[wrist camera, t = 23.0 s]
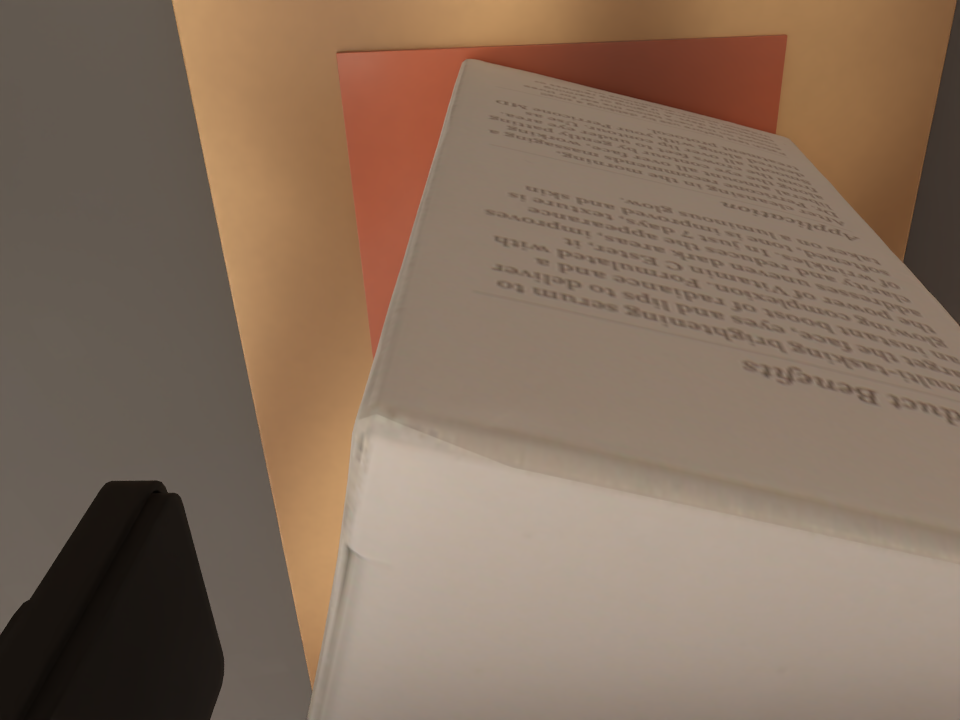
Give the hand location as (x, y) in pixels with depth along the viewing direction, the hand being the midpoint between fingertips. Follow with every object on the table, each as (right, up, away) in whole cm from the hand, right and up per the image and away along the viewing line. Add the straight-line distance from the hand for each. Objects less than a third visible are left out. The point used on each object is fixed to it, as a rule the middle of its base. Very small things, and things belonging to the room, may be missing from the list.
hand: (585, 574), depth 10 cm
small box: (0, +4, +6) cm, 7 cm away
